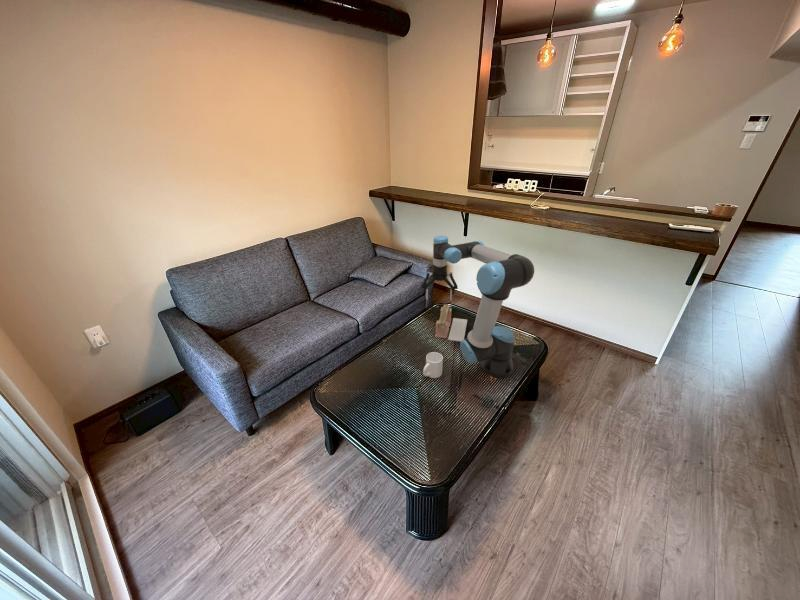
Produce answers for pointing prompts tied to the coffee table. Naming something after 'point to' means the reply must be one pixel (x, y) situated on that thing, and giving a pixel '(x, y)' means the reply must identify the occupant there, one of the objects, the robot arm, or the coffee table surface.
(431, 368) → the mug
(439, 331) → the stand
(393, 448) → the coffee table surface
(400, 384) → the coffee table surface
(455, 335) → the mat
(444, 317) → the rail
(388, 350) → the coffee table surface
